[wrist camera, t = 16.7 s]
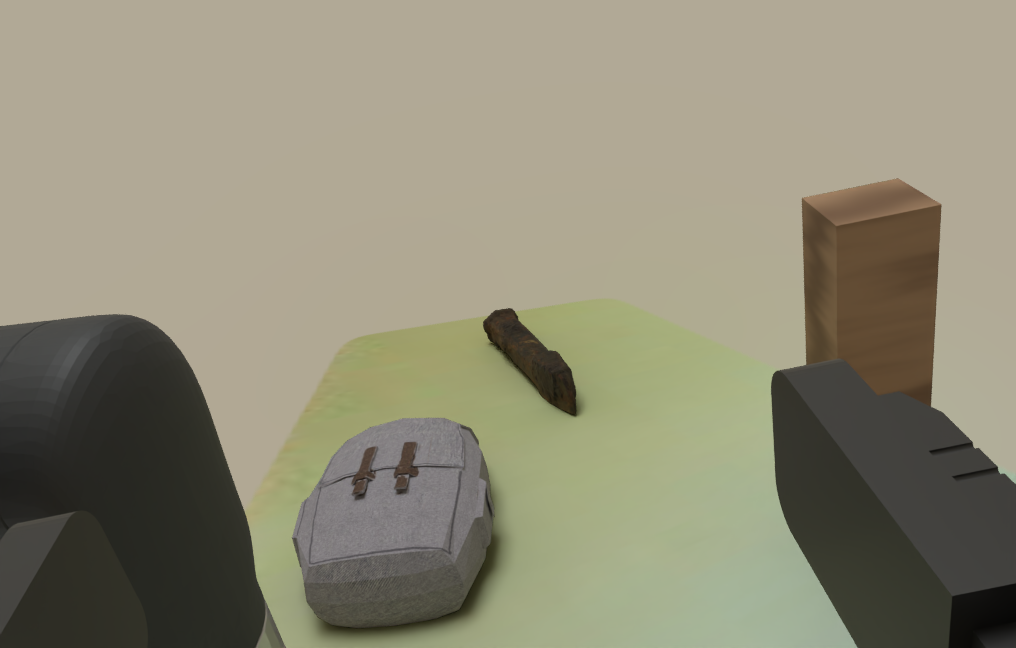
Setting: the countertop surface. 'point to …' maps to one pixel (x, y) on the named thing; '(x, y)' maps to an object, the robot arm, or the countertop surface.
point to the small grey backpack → (396, 525)
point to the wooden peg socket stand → (873, 283)
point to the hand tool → (533, 358)
